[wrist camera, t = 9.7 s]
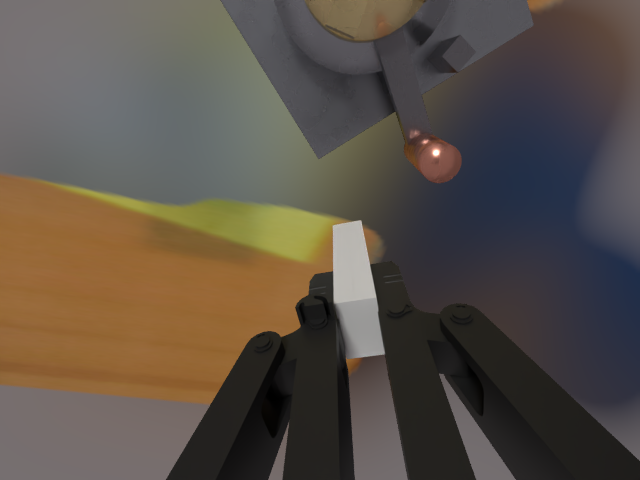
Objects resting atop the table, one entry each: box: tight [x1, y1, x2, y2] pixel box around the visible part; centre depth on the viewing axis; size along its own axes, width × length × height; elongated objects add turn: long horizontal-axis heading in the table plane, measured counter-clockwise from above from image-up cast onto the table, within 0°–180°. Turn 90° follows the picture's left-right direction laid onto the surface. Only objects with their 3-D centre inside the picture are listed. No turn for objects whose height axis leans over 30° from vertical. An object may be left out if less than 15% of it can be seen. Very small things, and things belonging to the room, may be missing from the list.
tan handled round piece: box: [304, 0, 461, 183], centre depth 26 cm, size 23×11×7 cm, turn 24°
